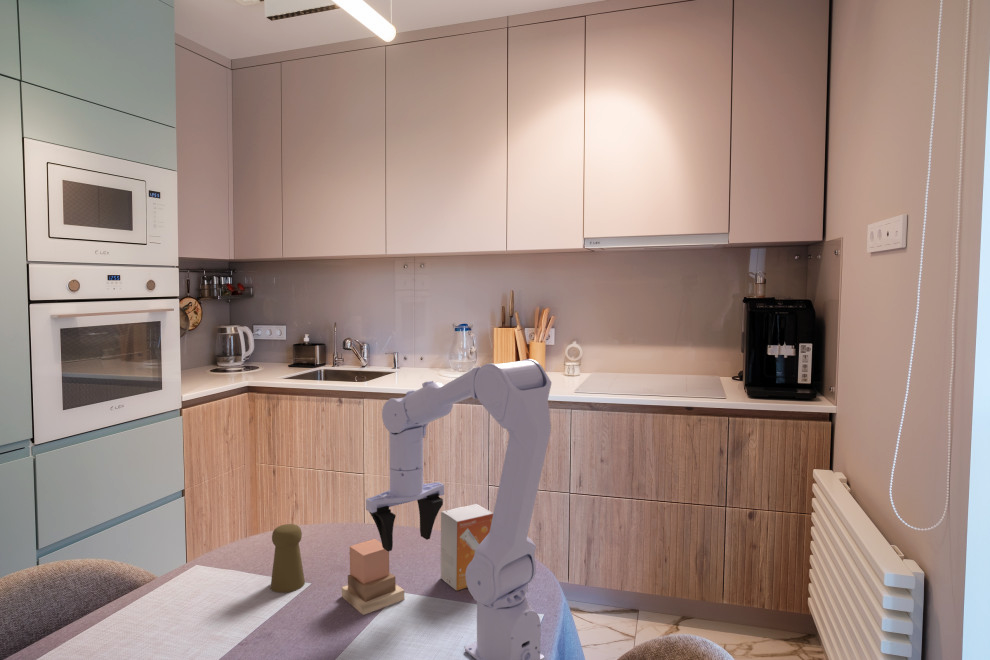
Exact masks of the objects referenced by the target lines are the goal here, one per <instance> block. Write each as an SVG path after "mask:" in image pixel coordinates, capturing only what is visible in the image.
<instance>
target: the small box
mask: <svg viewBox="0 0 990 660" xmlns="http://www.w3.org/2000/svg"><path fill="white" fill-rule="evenodd" d="M493 513H494V512H491V511H490V510H488V509H486V508H485V507H484V506H481V505H479V504H478V503H474V504H470V505H466V506H459V507H455V508H452V509H451V508H450V509H447V510H443V511H442V510H440V579H441V580H442V581H444V582H445V583H446V584H448V585H449V586H450V587H451V588H452V589H453V590H455V591H456V592H457V591H460V590H463V589H466V588H467V589H468V587H467V583H466V569H467V566H468V564H469V563H470V562H471V561H472V559H473V558H474V554H475V550H476V548H477V547H478V546H479V544H480V543H481V542H482V541H483V540H484V538H485V537H486V536H487V535H488V533H489V532H490V528H491V523H492V518H493Z"/></svg>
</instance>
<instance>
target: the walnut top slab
mask: <svg viewBox="0 0 990 660" xmlns="http://www.w3.org/2000/svg"><path fill="white" fill-rule="evenodd" d="M396 581H397V580H396V575H394V574H392V573H391V572H389V575H388V576H385V577H383V578H380V579H377V580H374V581H371V582H368V583H366V584H363V583H362V582H360V581H359V580H358V579H356V578H355V577H354V576H352V575H351V574H350V573H349V574H348V575H347V585H348V589H349V590H350V591H351V592H353V593H354V594H355V595H357V596H358V597H359V598H361V599H362V600H363V601H365V602H367V601H369V600H372V599H374V598H377V597H380V596H382V595H385V594H387V593H390V592H392V591H395V590H396Z"/></svg>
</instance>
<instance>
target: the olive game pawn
mask: <svg viewBox="0 0 990 660" xmlns="http://www.w3.org/2000/svg"><path fill="white" fill-rule="evenodd" d="M271 534H272V535H271V541H272V544H273V545H274V555H273V564H272V572H271V580H270V588H269V589H270V591H272V592H274V593H279V594H286V593H293V592H296V591H298V590H300V589H301V588H303V587H304V585H305V584H306V582H305V581H306V580H305V575H304V569H303V561H302V556H301V549H300V542H301V541H302V534H303V533H302V529H301V528H300V526H299V525H297V524H292V523H286V524H281V525H279V526H276V528H274V529H273V531H272V533H271Z"/></svg>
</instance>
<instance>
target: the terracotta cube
mask: <svg viewBox="0 0 990 660" xmlns="http://www.w3.org/2000/svg"><path fill="white" fill-rule="evenodd" d="M389 573H390V551H387V550H385V549H384V548H383V547H382V542H381V541H379V540H378V539H376V538H372V539H369V540H365V541H361V542H360V543H356V544H352V545H349V575H350V574H351V575H352V576H354V577H355V578H356V579H358V580H359V581H360V582H362V583H363V584H366V583H368V582H371V581H374V580H377V579H380V578H383V577H385V576H388V575H389Z"/></svg>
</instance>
